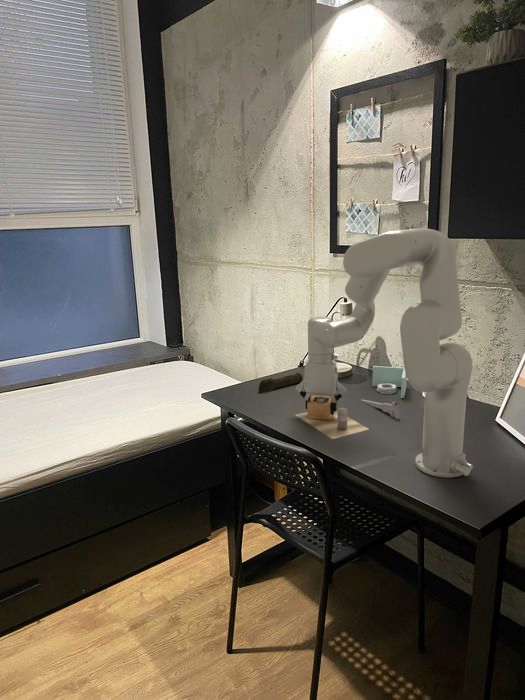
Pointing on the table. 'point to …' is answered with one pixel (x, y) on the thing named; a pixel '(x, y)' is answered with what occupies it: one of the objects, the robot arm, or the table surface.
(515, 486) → the table surface
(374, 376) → the l-shaped corner panel
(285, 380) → the hand tool
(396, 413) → the caliper
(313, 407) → the collar
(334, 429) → the board
